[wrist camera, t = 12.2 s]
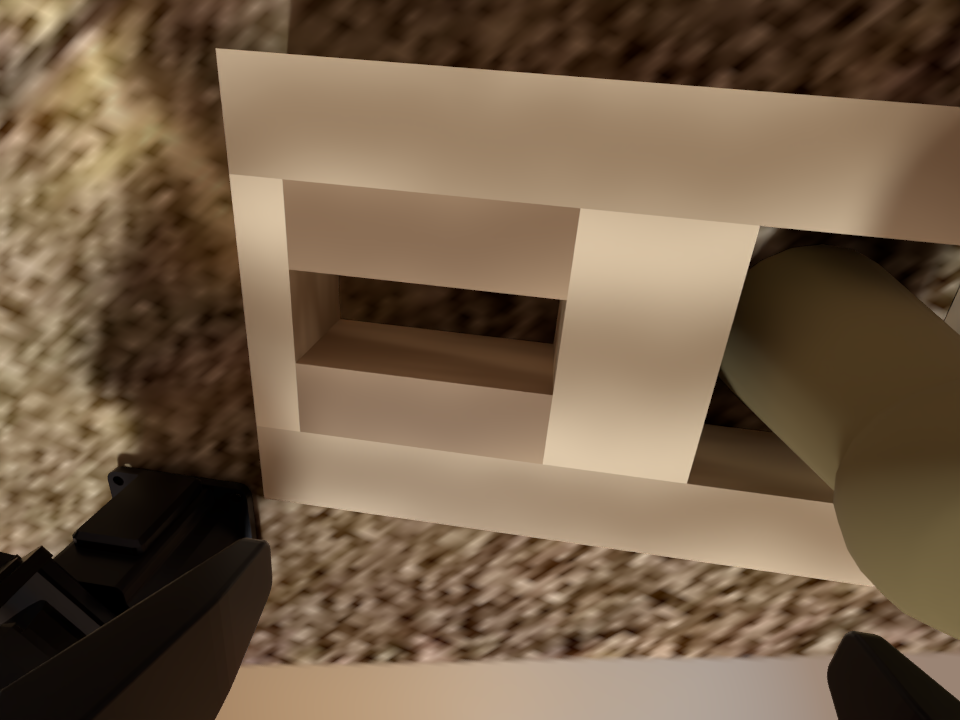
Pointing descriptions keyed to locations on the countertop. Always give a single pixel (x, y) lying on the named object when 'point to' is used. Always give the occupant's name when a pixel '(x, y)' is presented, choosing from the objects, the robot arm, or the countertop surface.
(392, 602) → the countertop surface
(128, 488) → the robot arm
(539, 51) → the countertop surface
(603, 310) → the socket board
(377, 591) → the countertop surface
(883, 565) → the cork
